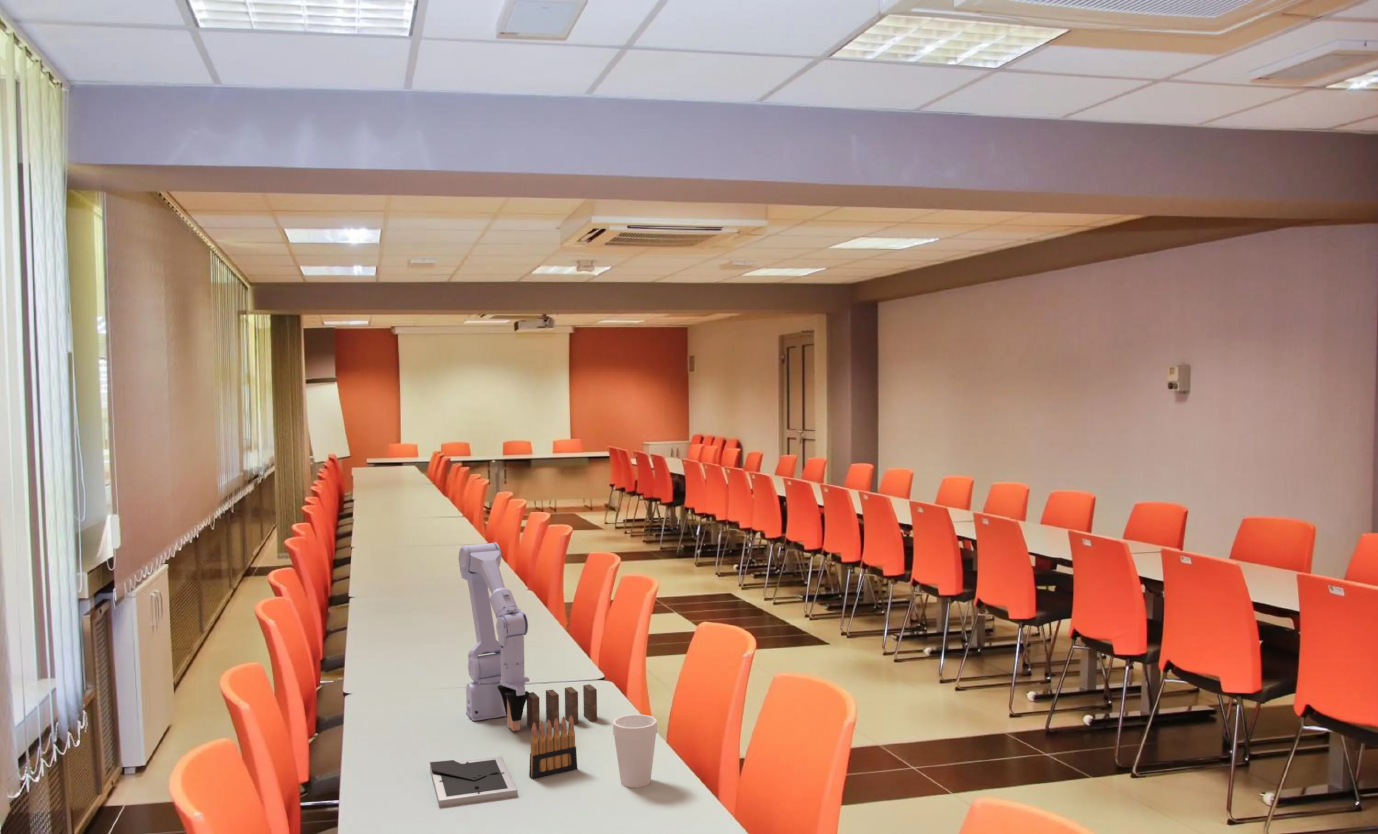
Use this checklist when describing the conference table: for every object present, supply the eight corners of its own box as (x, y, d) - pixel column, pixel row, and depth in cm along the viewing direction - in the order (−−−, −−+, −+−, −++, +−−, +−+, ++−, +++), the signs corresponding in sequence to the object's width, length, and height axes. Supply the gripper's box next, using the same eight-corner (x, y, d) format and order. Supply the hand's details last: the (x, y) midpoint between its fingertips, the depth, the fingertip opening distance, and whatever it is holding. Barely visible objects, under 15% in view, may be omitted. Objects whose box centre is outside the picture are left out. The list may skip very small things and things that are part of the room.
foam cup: (637, 770, 225) (637, 711, 225) (666, 781, 219) (666, 720, 218) (604, 782, 219) (603, 721, 218) (633, 793, 212) (632, 731, 212)
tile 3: (552, 727, 255) (551, 695, 255) (546, 721, 260) (545, 690, 259) (559, 726, 256) (558, 694, 256) (553, 720, 260) (552, 689, 260)
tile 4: (571, 724, 257) (571, 692, 257) (565, 718, 262) (564, 687, 262) (578, 723, 258) (577, 691, 258) (571, 717, 262) (571, 686, 262)
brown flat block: (590, 721, 259) (589, 690, 259) (583, 716, 264) (583, 685, 264) (597, 720, 260) (596, 689, 260) (590, 715, 265) (589, 684, 264)
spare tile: (512, 730, 251) (512, 698, 251) (507, 724, 255) (506, 692, 255) (520, 729, 252) (519, 697, 251) (514, 723, 256) (513, 691, 256)
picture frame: (430, 774, 226) (439, 810, 206) (429, 762, 226) (438, 796, 206) (502, 765, 231) (517, 799, 212) (501, 753, 231) (517, 786, 212)
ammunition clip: (532, 779, 221) (531, 724, 221) (529, 776, 222) (528, 721, 222) (577, 769, 227) (576, 715, 226) (573, 766, 228) (573, 713, 228)
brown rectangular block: (532, 730, 253) (532, 698, 253) (526, 724, 257) (526, 693, 257) (539, 729, 254) (539, 697, 253) (533, 723, 258) (533, 692, 258)
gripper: (536, 667, 248) (537, 722, 248) (520, 653, 261) (521, 706, 262) (508, 670, 245) (509, 727, 245) (492, 656, 258) (493, 710, 259)
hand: (513, 717), depth 253 cm, fingers closed on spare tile, 5 cm apart
